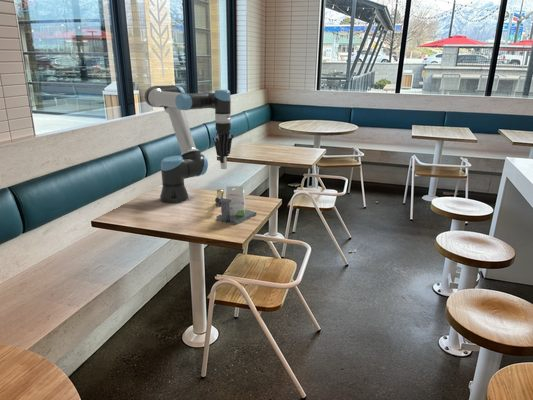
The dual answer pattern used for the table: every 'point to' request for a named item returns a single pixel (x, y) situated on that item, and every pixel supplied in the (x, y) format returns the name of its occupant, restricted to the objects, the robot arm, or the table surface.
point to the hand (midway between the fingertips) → (223, 168)
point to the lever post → (220, 202)
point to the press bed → (228, 218)
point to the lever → (219, 195)
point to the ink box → (236, 200)
